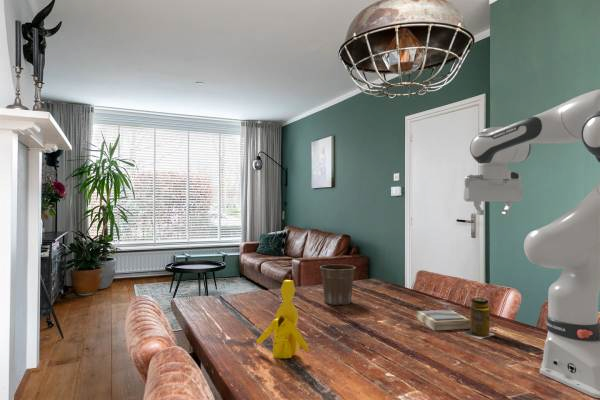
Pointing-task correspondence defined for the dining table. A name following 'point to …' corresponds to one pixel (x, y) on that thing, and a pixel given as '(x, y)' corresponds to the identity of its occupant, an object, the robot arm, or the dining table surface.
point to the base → (443, 319)
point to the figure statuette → (285, 326)
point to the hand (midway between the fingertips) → (493, 214)
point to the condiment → (479, 319)
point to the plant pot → (337, 283)
